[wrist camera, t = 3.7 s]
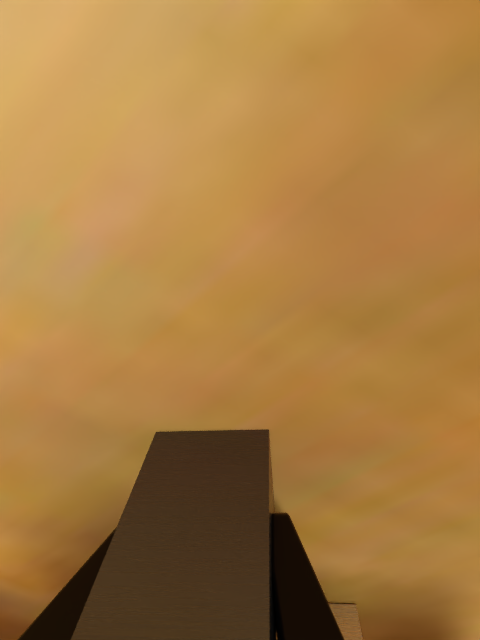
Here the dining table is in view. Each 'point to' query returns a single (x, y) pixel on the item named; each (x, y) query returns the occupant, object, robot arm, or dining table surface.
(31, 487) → the dining table surface
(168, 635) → the grey angular piece
